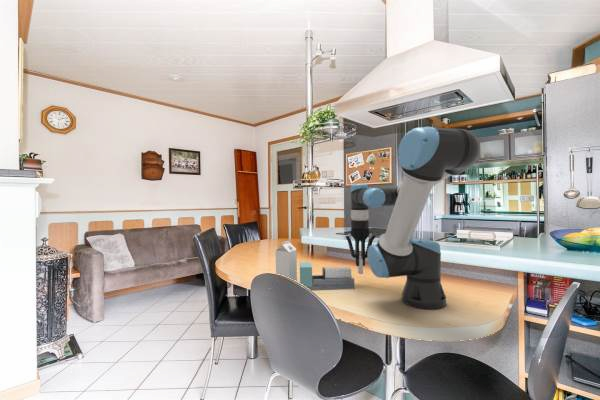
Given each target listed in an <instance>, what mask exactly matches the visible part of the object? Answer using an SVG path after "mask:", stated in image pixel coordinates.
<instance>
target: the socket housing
mask: <svg viewBox="0 0 600 400" xmlns="http://www.w3.org/2000/svg"><path fill="white" fill-rule="evenodd" d="M312 275H313V266H312V262H310V261H309V262H307V261H306V262H299V284H300V283H301V284H303V285H304V286H306V287H312Z"/></svg>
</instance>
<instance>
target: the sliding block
mask: <svg viewBox="0 0 600 400" xmlns="http://www.w3.org/2000/svg"><path fill="white" fill-rule="evenodd" d="M321 269H322V274H321V275H322V276H323V279H340V278H351V275H352V269H351V267H350V266H344V267H343V266H339V267H337V266H336V267H333V266H332V267H323V266H322V267H321Z"/></svg>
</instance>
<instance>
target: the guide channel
mask: <svg viewBox="0 0 600 400" xmlns="http://www.w3.org/2000/svg"><path fill="white" fill-rule="evenodd" d="M307 288H309V289H311V290H310V291H322V290H323V291H324V290H325V291H326V290H327V291H328V290H329V291H330V290H355V289H356V285H355V278H354V277H352V274H351V278H340V279H323V276H322V274H318V275H317V274H312V287H307Z"/></svg>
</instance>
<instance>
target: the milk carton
mask: <svg viewBox="0 0 600 400" xmlns="http://www.w3.org/2000/svg"><path fill="white" fill-rule="evenodd" d="M297 254H298V253H297V248H296V247H295V246H294V245H293V244H292V243H291V240H286V241H282V242H281V245H280V246H279V247H278V248H277V249H276V250H275V275H276V274H280V275H284V276H286V277H289V278H291V279H293V280H296V281H297V282H298V264H297V263H298V260H297V259H298V257H297Z"/></svg>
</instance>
